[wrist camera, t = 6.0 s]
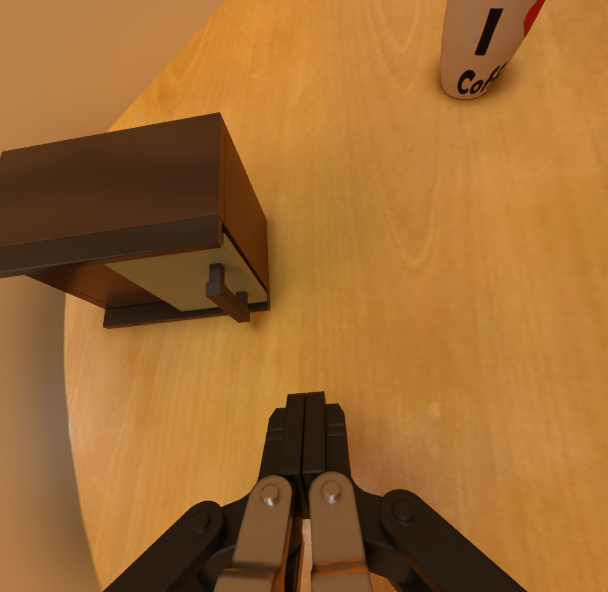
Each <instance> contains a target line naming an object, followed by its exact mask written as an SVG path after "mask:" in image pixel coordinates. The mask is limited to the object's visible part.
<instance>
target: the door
mask: <svg viewBox="0 0 608 592" xmlns="http://www.w3.org/2000/svg"><path fill="white" fill-rule="evenodd" d="M104 265H106V266H107V267H109V268H111V269H112V270H114V271H116V272H117V273H119V274H121V275H122V276H124V277H126V278H127V279H129V280H131V281H132V282H134V283H136V284H137V285H139V286H141V287H142V288H144V289H146V290H147V291H149V292H151V293H152V294H154V295H156V296H157V297H159V298H161V299H162V300H164V301H166V302H167V303H169V304H170V305H172V306H174V307H175V308H177V309H179V310H180V311H190V310H198V309H207V308H215V307H220V308H221V309H222V310H223V311H225V312H226V313H227V314H228V315H230V316H231V317H232V318H233V319H235V320H236V321H237V322H238V323H241V322H249V321H250V310H249V309H248V304H249V303H257V302H265V301H267V293H266V292H265V290H264V289H263V287H262V286H261V285H260V283H259V282H258V280H257V279H256V277H255V276H254V275H253V273H252V272H251V270H250V269H249V267H248V266H247V264H246V263H245V262H244V260H243V259H242V257H241V256H240V254H239V253H238V252H237V250H236V249H235V247H234V246H233V244H232V243H231V241H230V240H229V239H228V237H227V236H226V234H225V233H222V243H221V248H216V249H209V250H202V251H195V252H187V253H180V254H173V255H166V256H158V257H151V258H144V259H136V260H129V261H122V262H115V263H107V264H104Z"/></svg>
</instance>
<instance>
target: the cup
mask: <svg viewBox="0 0 608 592" xmlns="http://www.w3.org/2000/svg"><path fill="white" fill-rule="evenodd" d="M544 2H545V0H448V1H447V6H446V11H445V17H444V23H443V34H442V45H441V56H440V66H441V84H442V88H443V90H444V91H445V92H446V93H447V94H448V95H450V96H452V97H455V98H458V99H472V98H476V97H479V96H481V95H483V94H484V93H485V92H486V91H487V90H488V89H489V88H490V86H491V85H492V84H493V83H494V82H495V80H496V79H497V78H498V77H499V75H500V74H501V73H502V72H503V71H504V69H505V68H506V66H507V65H508V63H509V62H510V60H511V59H512V57H513V55H514V54H515V52H516V51H517V49H518V48H519V46H520V44H521V43H522V41H523V40H524V38H525V37H526V35H527V33H528V32H529V30H530V28H531V27H532V25H533V23H534V21H535V19H536V17H537V15H538V13H539V11H540V9H541V8H542V6H543V4H544Z"/></svg>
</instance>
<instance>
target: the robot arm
mask: <svg viewBox="0 0 608 592" xmlns="http://www.w3.org/2000/svg"><path fill="white" fill-rule="evenodd" d="M303 519H310V520H311V541H312V562H313V566H312V569H311V592H373V591H372V585H371V580H370V574H369V572H371V573H374V574H377V575H379V576H382V577H384V578H387V579H388V581H389V582H390V583H391V585H392V586H393V587H394V588H395V589H396V591H397V592H527V591H526V590H525V589H524V588H523V587H521V586H520V585H519V584H518V583H517V582H516V581H515V580H513V579H512V578H511V577H510V576H509V575H508V574H506V573H505V572H504V571H503V570H502V569H501V568H500V567H498V566H497V565H496V564H495V563H494V562H493V561H492V560H490V559H489V558H488V557H487V556H486V555H485V554H484V553H482V552H481V551H480V550H479V549H478V548H477V547H476V546H474V545H473V544H472V543H471V542H470V541H469V540H468V539H466V538H465V537H464V536H463V535H462V534H461V533H460V532H458V531H457V530H456V529H455V528H454V527H453V526H452V525H450V524H449V523H448V522H447V521H446V520H445V519H444V518H442V517H441V516H440V515H439V514H438V513H437V512H435V511H434V510H433V509H432V508H431V507H430V506H429V505H427V504H426V503H425V502H424V501H423V500H422V499H421V498H419V497H418V496H417V495H416V494H414V493H412V492H410V491H407V490H403V489H397V490H392V491H390V492H388V493H386V494H385V495H384V496H383V497H381V496H377V495H374V494H370V493H368V492H365V491H363V490H362V489H361V488H359V487H358V486H357V485H356V484H355V482H354V481H353V479H352V477H351V469H350V459H349V449H348V439H347V432H346V424H345V416H344V412H343V410H342V409H341V407H340V406H339V404H338V403H337V404H326V399H325V393H324V391H321V392H309V393H297V394H288V396H287V403H286V408H276V409H275V411H274V412H273V414H272V415H271V417H270V418H269V423H268V429H267V434H266V442H265V445H264V450H263V456H262V461H261V467H260V472H259V477H258V480H257V483H256V484H255V485H254V487H253V488H252V490H251V491H250V492H249V494H247V495H246V496H245V497H243V498H242V499H240V500H238V501H235V502H233V503H230V504H228V505H225V506H223V507H220V505H219V504H217V503H216V502H214V501H203V502H200V503H198V504H196V505H194V506H193V507H191V508H190V509H189V510H188V511H187V512H186V513H185V514H184V515H183V516H182V517H181V518H179V519H178V520H177V521H176V522H175V523H174V524H173V525H172V526H171V527H170V528H169V529H168V530H167V531H166V532H165V533H164V534H163V535H162V536H161V537H160V538H159V539H157V540H156V541H155V542H154V543H153V544H152V545H151V546H150V547H149V548H148V549H147V550H146V551H145V552H144V553H143V554H142V555H141V556H140V557H139V558H138V559H137V560H136V561H134V562H133V563H132V564H131V565H130V566H129V567H128V568H127V569H126V570H125V571H124V572H123V573H122V574H121V575H120V576H119V577H118V578H117V579H116V580H115V581H114V582H113V583H111V584H110V585H109V586H108V587H107V588H106V589H105V590H104V591H103V592H300V586H301V576H302V566H303V556H304V545H305V543H304V537H303V533H302V527H303Z"/></svg>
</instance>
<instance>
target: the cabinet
mask: <svg viewBox="0 0 608 592" xmlns="http://www.w3.org/2000/svg"><path fill="white" fill-rule="evenodd" d="M222 233H225V234H226V236H227V237H228V239H229V240H230V241H231V243H232V244H233V246H234V247H235V249H236V250H237V252H238V253H239V254H240V256H241V257H242V259H243V260H244V262H245V263H246V264H247V266H248V267H249V269H250V270H251V272H252V273H253V275H254V276H255V277H256V279H257V280H258V282H259V283H260V285H261V286H262V287H263V289H264V290H265V292H266V293H267V301H265V302H257V303H249V304H248V309H249V310H250V312H257V311H266V310H270V299H269V273H268V249H267V224H266V218H265V215H264V213H263V211H262V208H261V206H260V204H259V201H258V199H257V197H256V194H255V192H254V190H253V187H252V185H251V183H250V181H249V178H248V176H247V174H246V171H245V169H244V167H243V164H242V162H241V160H240V157H239V155H238V153H237V150H236V148H235V146H234V143H233V141H232V139H231V136H230V134H229V132H228V130H227V127H226V125H225V123H224V120H223V118H222V116H221V113H220V112H219V113H213V114H207V115H202V116H196V117H191V118H185V119H180V120H174V121H169V122H163V123H158V124H152V125H147V126H141V127H136V128H130V129H125V130H119V131H114V132H108V133H103V134H98V135H92V136H86V137H80V138H75V139H69V140H64V141H58V142H53V143H48V144H42V145H37V146H31V147H25V148H20V149H15V150H9V151H4V152H2V154H1V157H0V278H6V277H13V276H20V275H26V276H28V277H31V278H33V279H36V280H38V281H40V282H43V283H45V284H47V285H50V286H52V287H55V288H57V289H59V290H62V291H64V292H66V293H69V294H71V295H73V296H76V297H78V298H80V299H83V300H85V301H88V302H90V303H92V304H95V305H97V306H99V307H102V308H104V309H106V310H105V316H104V322H103V327H104V328H107V329H111V328H119V327H128V326H137V325H145V324H154V323H162V322H171V321H180V320H188V319H197V318H206V317H214V316H223V315H228V314H227V313H226V312H225V311H223V310H222V309H221V308H220V307H215V308H207V309H198V310H190V311H180V310H179V309H177V308H175V307H174V306H172V305H170V304H169V303H167V302H166V301H164V300H162V299H161V298H159V297H157V296H156V295H154V294H152V293H151V292H149V291H147V290H146V289H144V288H142V287H141V286H139V285H137V284H136V283H134V282H132V281H131V280H129V279H127V278H126V277H124V276H122V275H121V274H119V273H117V272H116V271H114V270H112V269H111V268H109V267H107V266H106V265H104V264H107V263H115V262H122V261H129V260H136V259H144V258H151V257H158V256H166V255H173V254H180V253H187V252H195V251H202V250H209V249H216V248H221V243H222Z"/></svg>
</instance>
